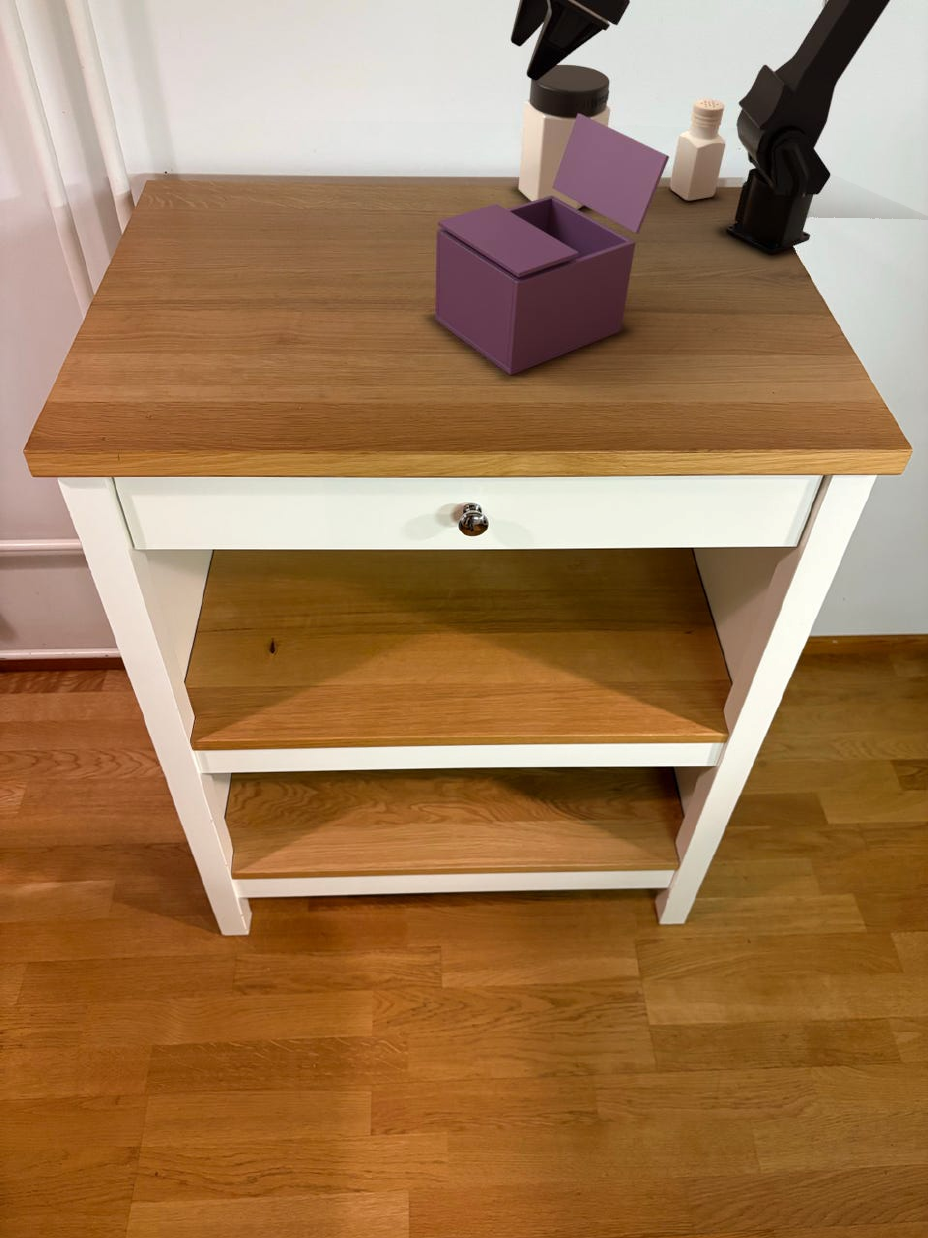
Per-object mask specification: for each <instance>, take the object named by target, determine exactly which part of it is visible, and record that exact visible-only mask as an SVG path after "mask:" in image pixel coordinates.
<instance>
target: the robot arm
mask: <svg viewBox="0 0 928 1238" xmlns="http://www.w3.org/2000/svg"><path fill="white" fill-rule="evenodd" d="M890 1H891V0H827V1H826V3H825V4H824V6H823V8H822V9H821V12H820V13H819V14H818V16H817V18H816V20H815V21H814V23H813V24H812V26H811V28H810V29H809V31H808V33H807V34H806V35H805V38H803V41H802V42H801V44H800V45H799V47H798V49H797V51H795V53H794V54H793V56H792V57H791V58H789V59H788V60H787V61H786V62H784V63H783V64H782V65H781V66H779V67H778V68H777V69H776V70H775V71H774V70H773V68H771V67H770V66H768V64H763V65H762V67H761V68H760V69H759V70H758V73H757V75H756V77H755V79H754V82H753V84H752V86H751V88H750V90H749V91H748V92H747V93H746V95H745V96H744V97H743V98H741V99H740V100H739V102H738V106H739V107H740V108H741V110H740V112H739V115H738V116H737V120H736V131H737V137H738V140H739V141H740V143H741V145H742V146H743V147H744V148H745V149H746V151H747V160H748V162H749V163H750V164H752V165H753V168H751V169H749V171H748V174H747V179H746V181H743V183H742V185H741V186H742V187H741V190H740V195H739V199H738V203H737V206H736V211H735V216H734V221H735V223H732V224H729V225H727V226H726V227H725V233H727V234H729V235H730V236H733V237H735V238H737V239H739V240H741V241H742V242H745V243H747V244H749V245H750V246H752V247H754V248H755V249H758V250H760V251H762V252H764V253H766V254H768V255H775V254H777V253H780V252H782V251H784V250H787V249H791V248H793V247H795V246H798V245H801V244H802V243H805V242H807V241H809V240H810V238H811V234H810V233H808V232H805V231H804V229H805V225H806V223H807V220H808V215H809V212H810V209H811V205H812V201H813V198H814V196H817V195H819V194H820V193H821V191H822V190H823V189H824V187H825V185H826V184H827V183H828V181H829V179H830V178H831V172H830V171H829V170H830V169H828V167H827V166H826V164H825V163H824V162H823V160H822V158H821V157H820V155H819V154H818V152H817V151H816V149H815V147H816V145H817V143H818V141H819V140H820V137H821V135H822V133H823V131H824V129H825V128H826V125H827V122H828V120H829V114H830V111H831V106H832V102H833V97H834V95H835V89H836V86H837V84H838V82H839V80H840V79H841V77H842V75H843V74H844V72H845V71H846V69H847V67H849V65H850V63H851V62H852V60H853V58H854V57H855V56H856V54H857V52H858V51H859V49H860V48H861V46H862V45H863V43H864V42H865V40H866V38H867V37H868V36H869V34H870V32H871V31H872V29H873V28H874V26H875V25H876V23H877V22H878V21H879V19H880V17H881V15H882V14H883V12H884V11H885V9H886V8H887V7H888V4H889V3H890ZM630 3H631V1H630V0H519V3H518V6H517V11H516V14H515V15H516V16H515V19H514V23H513V27H512V31H511V35H510V42H511V43H512V44H513V45H515V46H516V47H522V46H523V45H524V44H525V43H527V41H528V40H529V39H530V38H531V37H532V36H533V35H534V34H535V33H536V32H537V30H538V29H539V28H540V27H541V29H540V31H539V35H538V37H537V40H536V42H535V46H534V48H533V50H532V51H533V52H532V54H531V57H530V60H529V63H528V66H527V70H526V76H527V78H529V79H530V80H531V79H533V80H534V81H537V80H539V79H540V78H541V77H543V76H544V75H545V74H546V73H547V72H549V71H550V70H551V69H552V68H554V67H555V66H556V65H560V63H561V62H563V61H564V60H565V59H566V58H567V57H569V55H572V53H574V52H575V51H577V49H579V48H580V47H581V46H583V45H585V44H586V43H587V42H588V41H589V40H592V38H594V37H595V36H597V35H598V34H600V32H602V31H605V32H606V31H607V30H608V29H609V28H610V26H611V24H612V25H614V26H618V25H619V23H620V21H621V19H622V18H623V16H624V14H625V13H626V10H627V9H628V7H629V6H630Z"/></svg>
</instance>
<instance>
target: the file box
mask: <svg viewBox="0 0 928 1238" xmlns="http://www.w3.org/2000/svg"><path fill="white" fill-rule="evenodd" d="M437 226H438V227H440V228H439V229H437V230H436V249H435V251H436V255H435V257H436V258H435V259H436V260H435V265H436V266H435V309H434V310H435V311H434V312H435V316H434V320H435V322H437V323H439V325H441V326H443V327H444V328H445V329H446V330H448V331H449V332H451V334H453V335H454V336H456V337H457V338H459V339H460V340H461V341H463V342H464V343H466V344H467V345H468V346H469V347H471V348H472V349H474V351H476V352H478V353H479V354H480V355H482V356H483V357H485V358H486V359H487V360H488V361H490V362H492V363H493V364H494V365H496V366H497V367H498V368H500V369H501V370H502V371H503V372H505V373H506V374H507V375H509V376H513V375H515V374H517V373H520V372H523V371H525V370H527V369H530V368H533V367H536V366H538V365H540V364H542V363H546V362H548V361H550V360H553V359H555V358H558V357H560V356H563V355H566V354H567V353H571V352H574V351H575V350H578V349H580V348H583V347H585V346H589V345H590V344H593V343H595V342H598V341H601V340H603V339H605V338H608V337H610V336H613V335H616V334H618V333H621V331H622V325H623V319H624V313H625V309H626V308H625V307H626V301H627V296H628V289H629V284H630V279H631V271H632V265H633V259H634V254H635V249H636V248H635V247H636V241H634V240H632V239H631V238H629V237H627V236H626V235H624V234H623V233H620V232H618V231H617V230H615V229H613V228H612V227H610V226H607V225H606V224H604V223H603V222H600V221H598V220H597V219H595V218H593V217H591V216H590V215H588V214H586V213H584V212H582V211H581V210H579V209H578V210H577V209H575V208H574V207H572V206H570V205H568V204H566V203H565V202H563V201H561V200H559V199H557V198H556V197H554V196H552V195H551V196H548V197H545V198H541V199H538V200H535V201H532V202H531V201H528V202H526V203H522V204H519V205H515V206H512V207H508V208H505V207H503V206H501V205H500V204H498V203H493V204H490V205H487V206H484V207H480V208H477V209H474V210H470V211H466V212H464V213H459V214H456V215H454V216H450V217H446V218H443V219H439V220H437Z"/></svg>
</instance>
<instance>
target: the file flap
mask: <svg viewBox="0 0 928 1238" xmlns="http://www.w3.org/2000/svg"><path fill="white" fill-rule="evenodd" d="M669 159H670V155H668V154H665V153H663V152H661V151H659V150H657V149H655V148H653V147H651V146H649V145H646V144H645V143H643V142H641V141H638V140H636V139H634V138H632V137H630V136H628V135H627V134H624V133H621V132H620V131H617V130H615V129H613V128H611V127H609V126H608V127H607V126H605V125H603V124H601V123H599V122H597V121H595V120H592V119H590V118H588V117H586V116H584V115H582V114H579V113H578V114H577V117H576V120H575V123H574V126H573V128H572V131H571V134H570V137H569V140H568V143H567V146H566V149H565V152H564V154H563V157H562V160H561V163H560V166H559V169H558V172H557V175H556V178H555V180H554V183H553V186H552V188H554V189H556V190H557V191H559V192H561V193H563V194H565V195H566V196H568V197H570V198H572V199H574V200H576V201H577V202H579V203H581V204H583V205H584V206H585V207H586V208H588V209H590V210H592V211H594V212H595V213H597V214H599V215H601V216H603V217H605V218H606V219H608V220H610V221H612V222H613V223H616V224H617V225H619V226H621V227H622V228H624V229H626V230H628V231H630V232H631V233H634V234H635V235H639V234H640V231H641V230H642V226H643V223H644V221H645V219H646V216H647V213H648V211H649V209H650V207H651V204H652V201H653V199H654V196H655V194H656V192H657V189H658V187H659V184H660V182H661V179H662V176H663V174H664V172H665V169H666V166H667V164H668V162H669Z"/></svg>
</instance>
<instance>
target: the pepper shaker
mask: <svg viewBox="0 0 928 1238" xmlns="http://www.w3.org/2000/svg"><path fill="white" fill-rule="evenodd" d="M692 107H693V108H692V113H691V117H690V126H689V127H690V128H689V130H686V131H683V132H682V133H680V135H678V138H677V144H676V149H675V155H674V160H673V165H672V171H671V176H670V181H669V188H670V190H671V191H672V192H674V193H675V194H676V195H678V196H679V197H681V198H682V199H683V200H684V201H695V200H700V199H706V198H712V197H713V196H714V195H715V193H716V191H717V190H716V189H717V185H718V181H719V177H720V172H721V167H722V163H723V159H724V154H725V149H726V144H727V143H726V140H725V139H724V138H723V136H722V135H720V134H719V130H720V126H721V125H722V120H723V115H724V110H725V107H726V105H725V104H724V103H723V102H722V101H720V100H717V99H712V98H700V99H696V100H695V101H694V103H693V106H692Z"/></svg>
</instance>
